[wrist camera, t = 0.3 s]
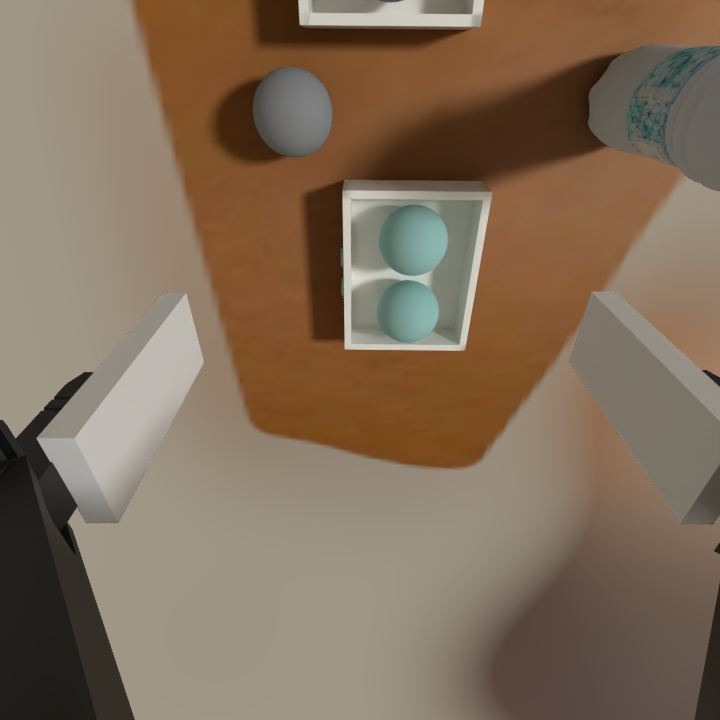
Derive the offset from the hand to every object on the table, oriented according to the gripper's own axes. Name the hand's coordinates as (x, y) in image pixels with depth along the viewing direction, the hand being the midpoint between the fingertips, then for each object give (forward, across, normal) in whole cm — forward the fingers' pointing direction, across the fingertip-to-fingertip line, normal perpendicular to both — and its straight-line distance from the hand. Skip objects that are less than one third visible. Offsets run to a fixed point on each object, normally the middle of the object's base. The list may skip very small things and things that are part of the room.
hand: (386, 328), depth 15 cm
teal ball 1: (+24, +3, -4) cm, 25 cm away
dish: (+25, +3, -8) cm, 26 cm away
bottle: (+25, +18, +5) cm, 31 cm away
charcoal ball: (+25, -6, +4) cm, 26 cm away
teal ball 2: (+24, +3, -11) cm, 27 cm away
